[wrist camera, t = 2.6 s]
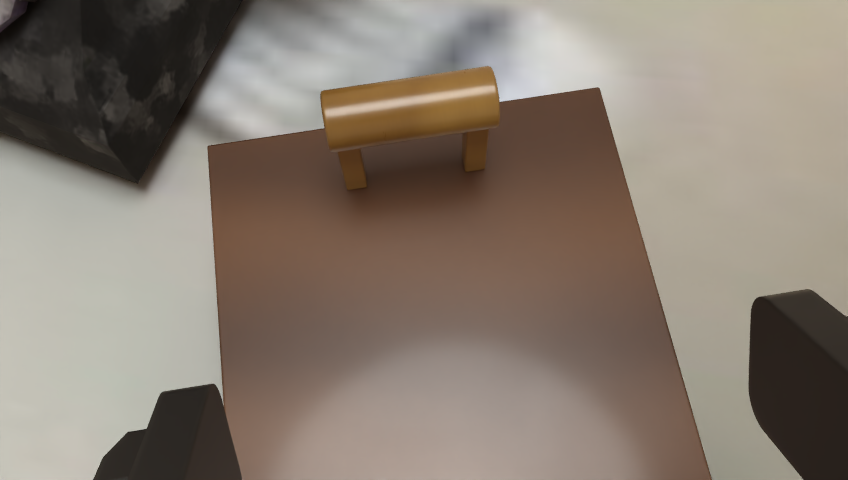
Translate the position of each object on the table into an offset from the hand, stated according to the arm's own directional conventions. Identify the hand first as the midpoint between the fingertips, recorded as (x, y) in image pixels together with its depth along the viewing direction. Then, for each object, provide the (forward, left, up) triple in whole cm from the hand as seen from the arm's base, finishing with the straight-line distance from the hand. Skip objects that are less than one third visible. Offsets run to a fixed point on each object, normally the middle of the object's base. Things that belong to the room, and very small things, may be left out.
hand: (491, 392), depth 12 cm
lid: (-3, -2, -13) cm, 14 cm away
